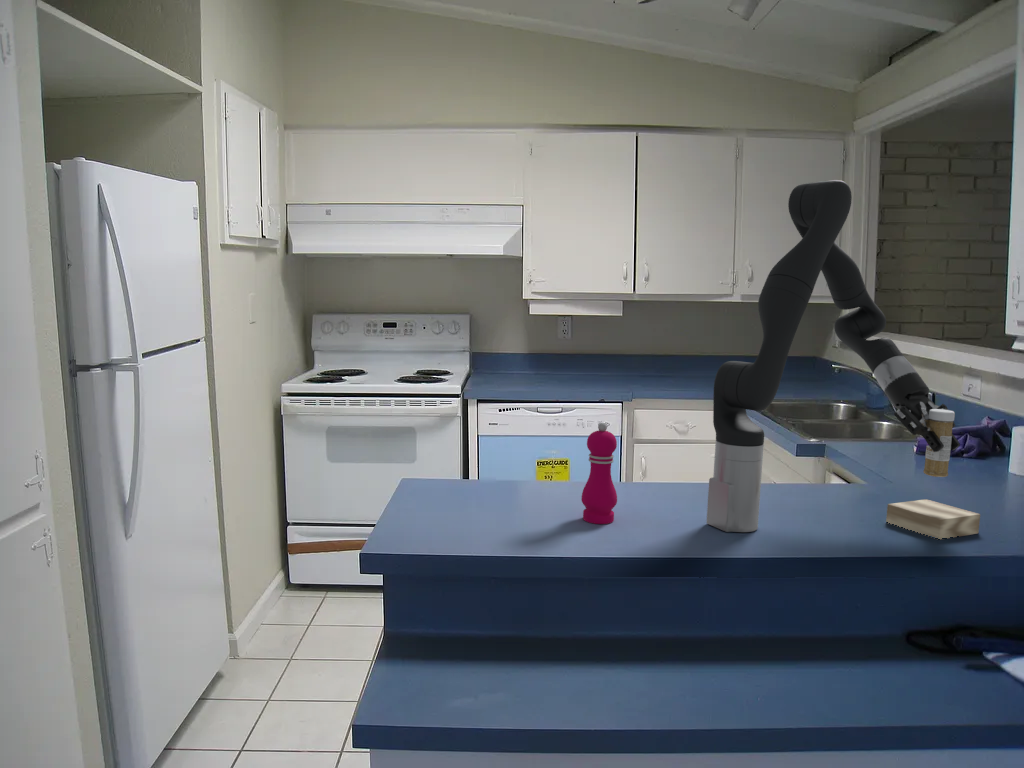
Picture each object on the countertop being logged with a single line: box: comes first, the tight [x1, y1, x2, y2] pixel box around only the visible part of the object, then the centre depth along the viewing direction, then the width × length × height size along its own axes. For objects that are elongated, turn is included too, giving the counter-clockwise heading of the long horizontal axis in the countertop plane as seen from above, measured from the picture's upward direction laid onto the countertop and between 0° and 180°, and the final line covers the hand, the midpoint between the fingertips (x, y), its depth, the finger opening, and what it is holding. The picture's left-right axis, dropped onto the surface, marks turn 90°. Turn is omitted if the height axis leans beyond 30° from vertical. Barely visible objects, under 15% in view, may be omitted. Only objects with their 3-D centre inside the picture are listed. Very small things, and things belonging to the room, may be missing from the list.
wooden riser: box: [885, 498, 981, 540], centre depth 158 cm, size 12×12×4 cm
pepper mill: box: [580, 422, 618, 525], centre depth 155 cm, size 7×7×20 cm
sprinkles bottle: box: [923, 409, 956, 478], centre depth 156 cm, size 5×5×14 cm
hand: (947, 448), depth 155 cm, fingers closed on sprinkles bottle, 4 cm apart
